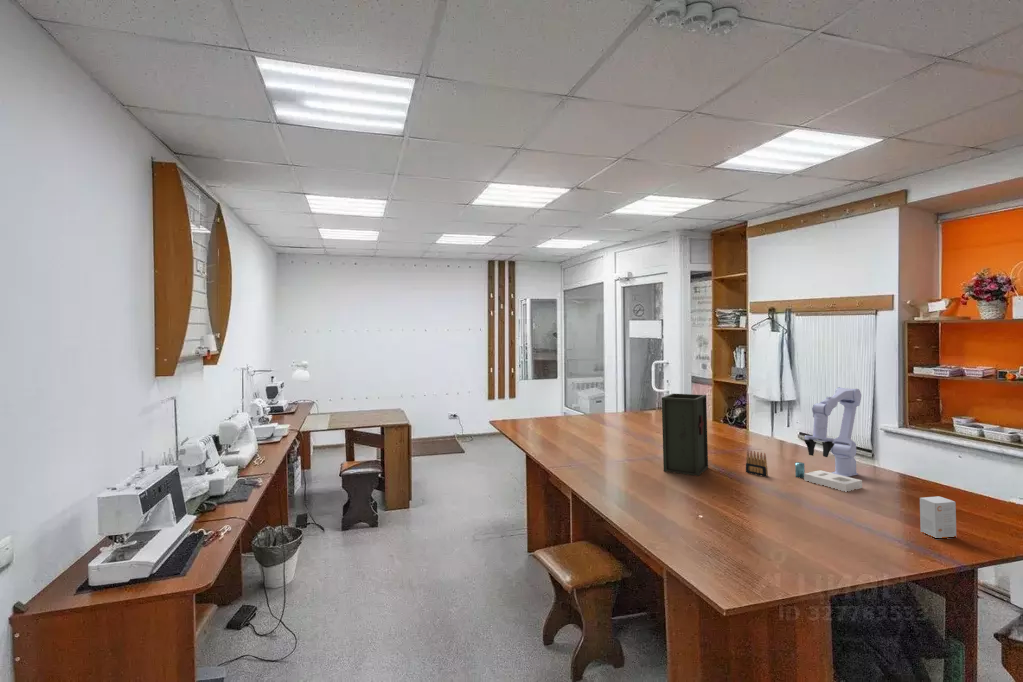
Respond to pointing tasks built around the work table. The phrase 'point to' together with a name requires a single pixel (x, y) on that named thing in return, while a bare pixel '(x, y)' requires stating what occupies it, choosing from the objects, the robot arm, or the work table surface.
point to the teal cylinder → (799, 469)
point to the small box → (938, 516)
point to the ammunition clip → (756, 464)
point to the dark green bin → (685, 433)
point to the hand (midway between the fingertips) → (818, 456)
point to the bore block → (833, 480)
